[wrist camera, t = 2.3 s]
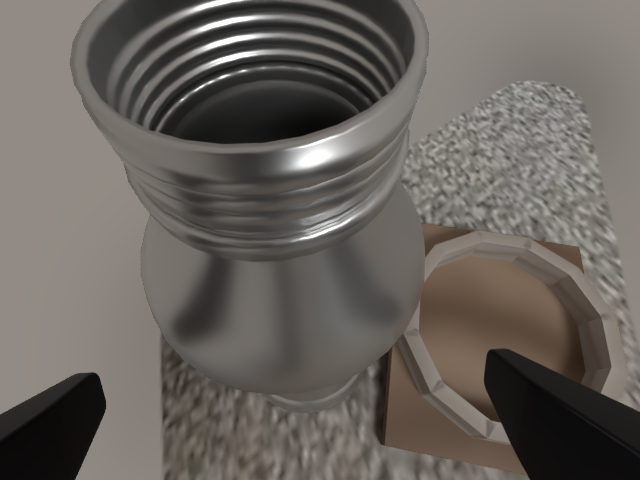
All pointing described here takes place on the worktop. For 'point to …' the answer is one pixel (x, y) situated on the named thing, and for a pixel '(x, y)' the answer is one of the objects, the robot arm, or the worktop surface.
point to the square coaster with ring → (492, 340)
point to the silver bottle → (267, 179)
